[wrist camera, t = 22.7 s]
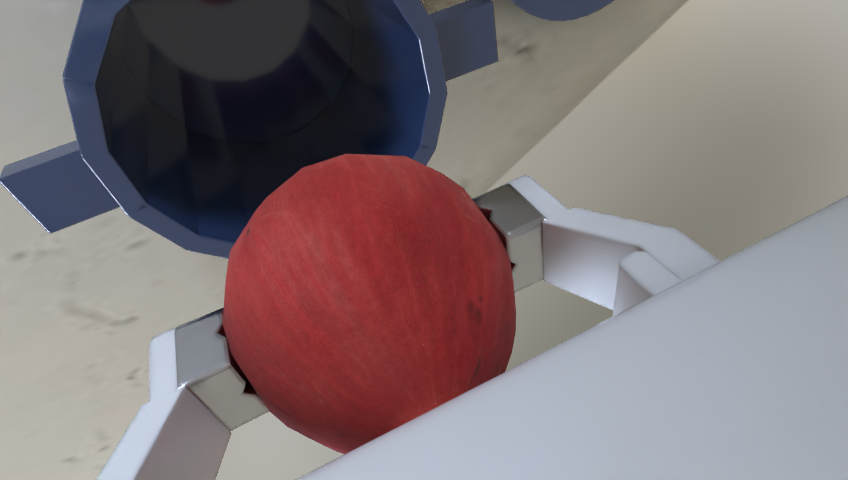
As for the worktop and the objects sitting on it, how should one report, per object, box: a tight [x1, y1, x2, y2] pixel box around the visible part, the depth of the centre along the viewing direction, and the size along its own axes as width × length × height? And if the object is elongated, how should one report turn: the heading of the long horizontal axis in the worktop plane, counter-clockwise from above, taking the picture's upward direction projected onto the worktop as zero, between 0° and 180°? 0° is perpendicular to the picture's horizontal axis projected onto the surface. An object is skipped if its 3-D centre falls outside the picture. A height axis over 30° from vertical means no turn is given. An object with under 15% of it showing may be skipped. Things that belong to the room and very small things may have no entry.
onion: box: [223, 154, 516, 454], centre depth 10 cm, size 6×6×8 cm
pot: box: [0, 0, 498, 259], centre depth 21 cm, size 13×18×10 cm
